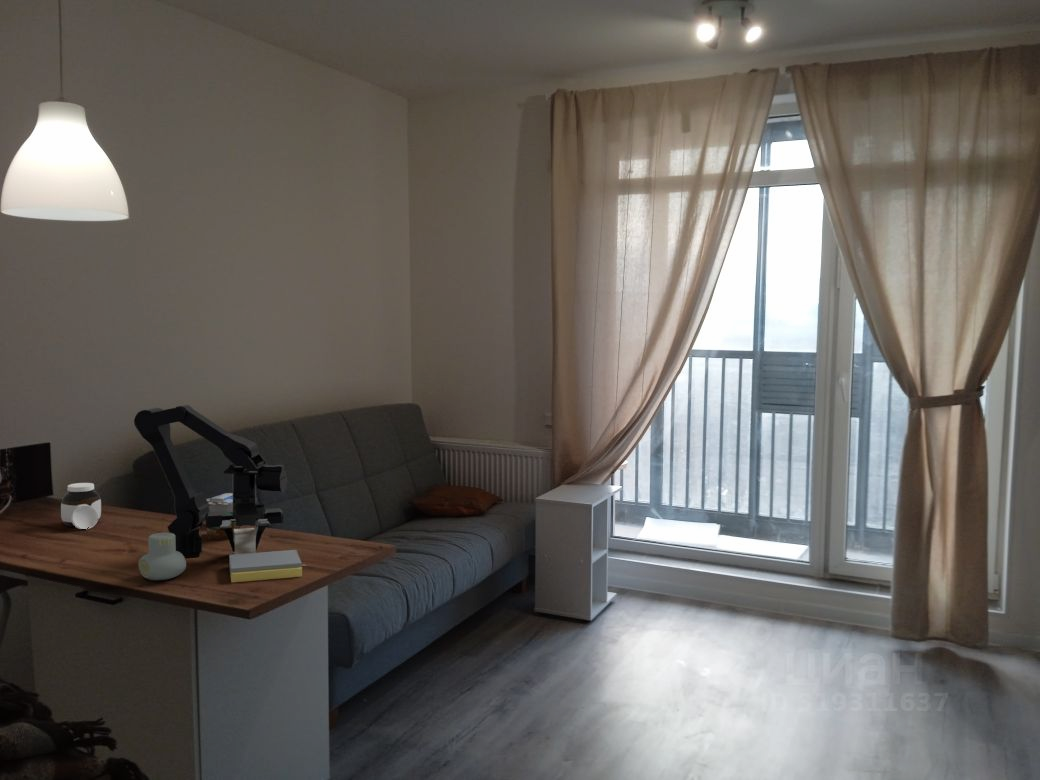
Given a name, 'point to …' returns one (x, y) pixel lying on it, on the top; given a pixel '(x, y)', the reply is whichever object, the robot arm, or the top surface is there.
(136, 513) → the top surface
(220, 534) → the food container
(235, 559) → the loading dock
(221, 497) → the medicine box
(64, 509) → the spread jar
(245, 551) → the white milk carton
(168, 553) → the air freshener
